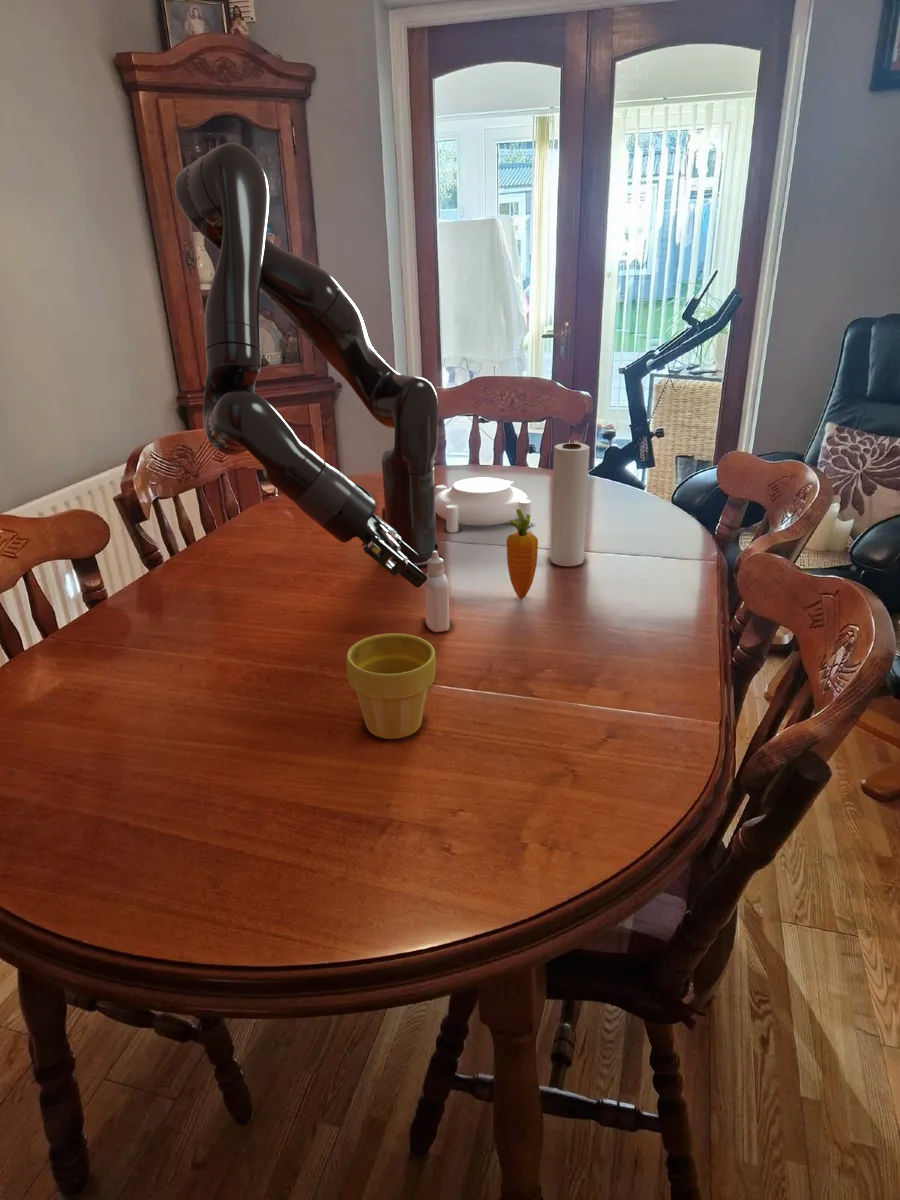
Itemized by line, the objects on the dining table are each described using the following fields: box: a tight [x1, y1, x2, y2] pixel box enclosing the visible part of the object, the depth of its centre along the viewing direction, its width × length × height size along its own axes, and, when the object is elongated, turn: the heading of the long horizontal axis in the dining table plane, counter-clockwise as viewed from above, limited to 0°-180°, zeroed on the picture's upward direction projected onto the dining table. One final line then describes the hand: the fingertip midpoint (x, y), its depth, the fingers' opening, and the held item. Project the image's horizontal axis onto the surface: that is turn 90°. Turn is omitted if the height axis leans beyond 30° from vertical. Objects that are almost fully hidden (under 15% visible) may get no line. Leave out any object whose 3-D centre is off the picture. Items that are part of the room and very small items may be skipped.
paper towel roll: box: [550, 439, 591, 567], centre depth 134 cm, size 7×6×21 cm
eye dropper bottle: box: [423, 550, 450, 633], centre depth 113 cm, size 4×6×12 cm
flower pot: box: [345, 633, 437, 740], centre depth 89 cm, size 10×10×10 cm
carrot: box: [506, 509, 539, 601], centre depth 120 cm, size 5×5×15 cm
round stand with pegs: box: [435, 476, 532, 533], centre depth 162 cm, size 24×24×7 cm
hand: (418, 571), depth 111 cm, fingers open, 8 cm apart
